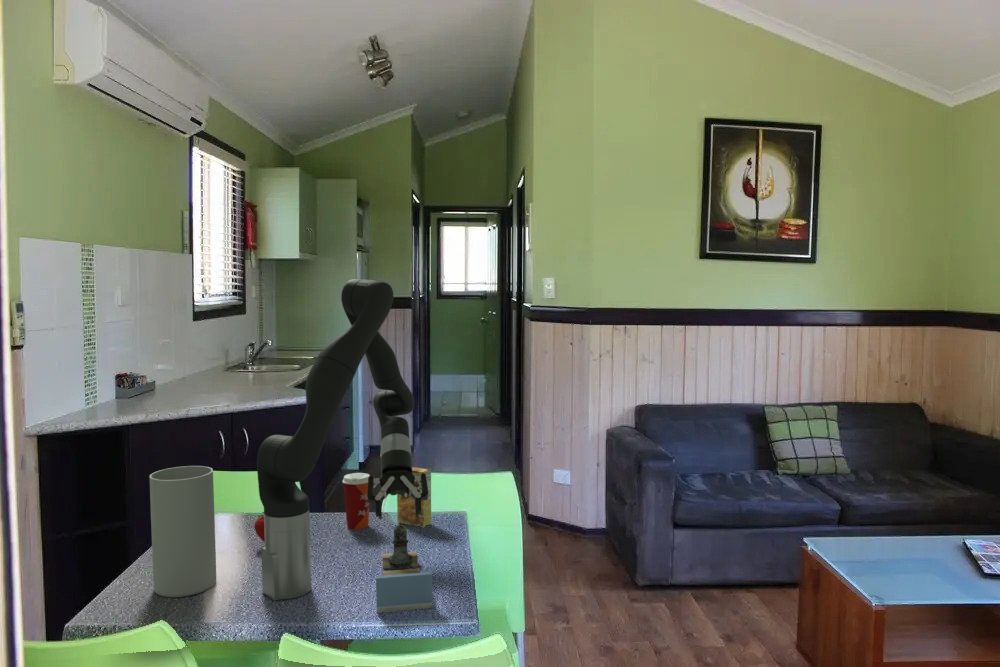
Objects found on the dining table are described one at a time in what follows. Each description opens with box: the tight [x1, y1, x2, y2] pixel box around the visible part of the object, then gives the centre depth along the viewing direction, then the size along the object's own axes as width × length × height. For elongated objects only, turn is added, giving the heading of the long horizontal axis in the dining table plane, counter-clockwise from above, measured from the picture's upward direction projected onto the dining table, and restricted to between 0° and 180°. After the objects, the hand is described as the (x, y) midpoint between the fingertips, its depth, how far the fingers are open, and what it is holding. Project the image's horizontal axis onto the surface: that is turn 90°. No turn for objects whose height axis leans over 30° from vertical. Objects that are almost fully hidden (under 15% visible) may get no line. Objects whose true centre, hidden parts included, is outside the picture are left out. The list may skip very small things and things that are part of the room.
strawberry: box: [254, 511, 265, 543], centre depth 182 cm, size 6×8×10 cm
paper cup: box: [341, 472, 371, 531], centre depth 196 cm, size 8×8×14 cm
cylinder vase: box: [149, 465, 217, 598], centre depth 157 cm, size 12×12×25 cm
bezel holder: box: [375, 571, 433, 614], centre depth 149 cm, size 10×11×7 cm
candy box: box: [396, 466, 432, 528], centre depth 198 cm, size 9×4×15 cm, turn 62°
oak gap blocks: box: [381, 551, 422, 575], centre depth 163 cm, size 13×8×2 cm, turn 10°
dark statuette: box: [388, 522, 414, 570], centre depth 163 cm, size 6×6×12 cm
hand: (398, 516), depth 168 cm, fingers open, 8 cm apart
